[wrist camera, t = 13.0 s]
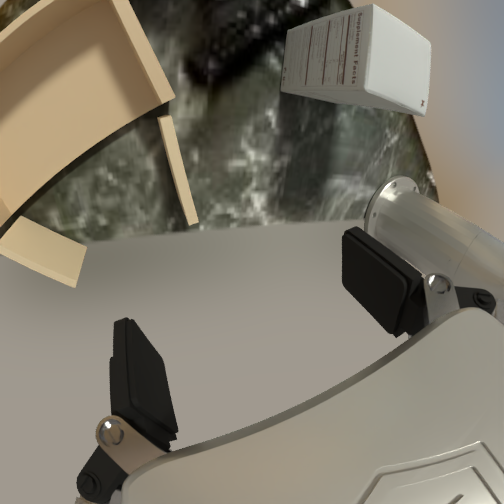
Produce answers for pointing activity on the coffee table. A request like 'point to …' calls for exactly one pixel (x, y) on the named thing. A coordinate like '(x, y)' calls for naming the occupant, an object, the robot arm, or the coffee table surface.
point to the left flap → (43, 251)
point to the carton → (69, 87)
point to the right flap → (177, 167)
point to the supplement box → (359, 61)
